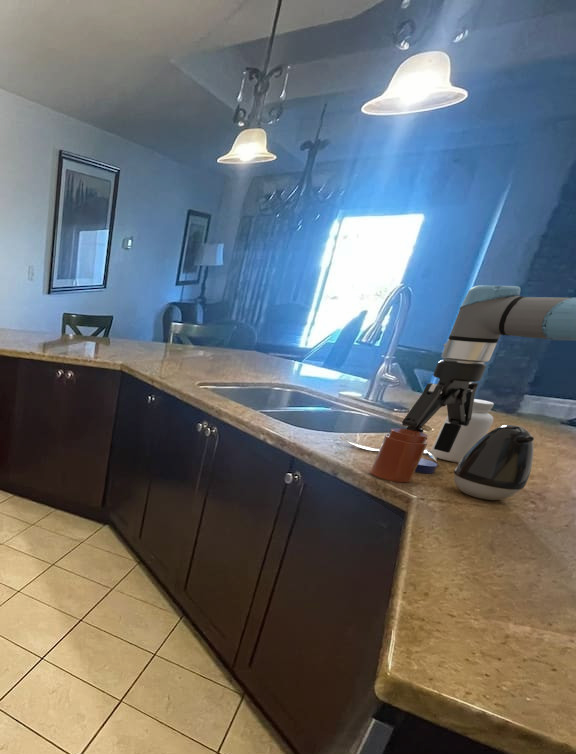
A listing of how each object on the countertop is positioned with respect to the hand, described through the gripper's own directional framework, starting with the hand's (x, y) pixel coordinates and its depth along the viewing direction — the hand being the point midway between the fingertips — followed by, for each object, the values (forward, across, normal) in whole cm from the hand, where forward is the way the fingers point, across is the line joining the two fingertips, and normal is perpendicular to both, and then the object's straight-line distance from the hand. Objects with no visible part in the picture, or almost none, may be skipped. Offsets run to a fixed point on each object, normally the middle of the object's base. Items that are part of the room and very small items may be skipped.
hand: (423, 452), depth 115 cm
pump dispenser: (+4, +5, +14) cm, 16 cm away
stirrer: (+4, -5, -10) cm, 12 cm away
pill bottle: (+4, -18, -3) cm, 19 cm away
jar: (+4, +13, +2) cm, 14 cm away
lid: (+2, 0, -1) cm, 3 cm away
